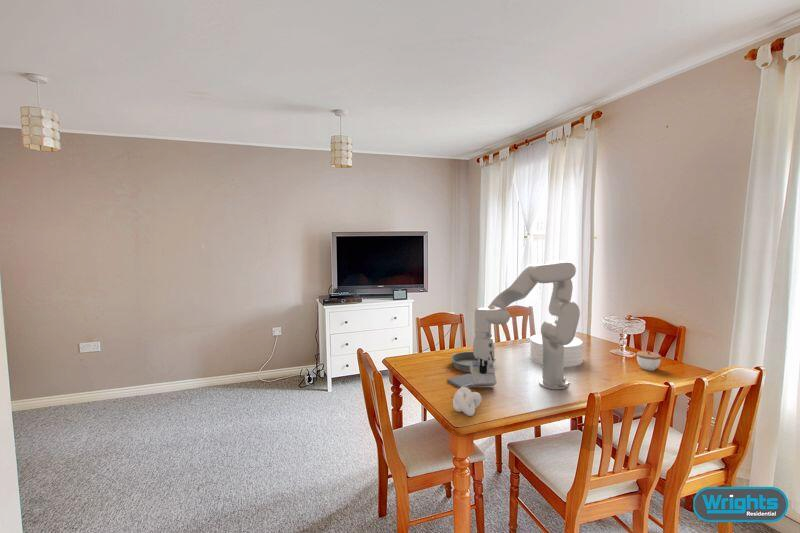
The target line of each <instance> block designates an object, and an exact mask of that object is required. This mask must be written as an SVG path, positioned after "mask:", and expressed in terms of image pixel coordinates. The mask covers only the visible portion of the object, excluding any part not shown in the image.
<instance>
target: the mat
mask: <svg viewBox="0 0 800 533" xmlns="http://www.w3.org/2000/svg"><path fill="white" fill-rule="evenodd" d="M446 382H448V383H450V384H451V385H453V386H455V387H456V388H458V389H460V388H461V387H467V388H469V389H470V388H474V387H473V386H472V379H471V373H466V374H462V375H457V376H455V377H449V378H446Z"/></svg>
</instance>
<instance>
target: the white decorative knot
mask: <svg viewBox="0 0 800 533" xmlns="http://www.w3.org/2000/svg"><path fill="white" fill-rule="evenodd" d="M452 399H453V400H452V407H453V409H454V411H455V412H459V413H461V412H463V414H465V415H466V416H469V417H472V416H474V415H475V412H476V408H478V407H479V406H480V405H481V403H482V395H481V393H479V392H477V391H472V390H471V389H470V387H469V388H467V387H461V388H458V389H457V391H455V393H454V396H453V398H452Z"/></svg>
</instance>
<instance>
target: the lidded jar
mask: <svg viewBox="0 0 800 533" xmlns="http://www.w3.org/2000/svg"><path fill="white" fill-rule="evenodd" d="M661 358H662V355H661V354H659V353H657V352H651V351H650V350H647V351H646V350H645V351H644V350H643V351H637V352H636V361H637V364H638V366H640V367H641V369H643V370H645V371H655V370H656V369H657V368H659V367H660V364H661Z"/></svg>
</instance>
